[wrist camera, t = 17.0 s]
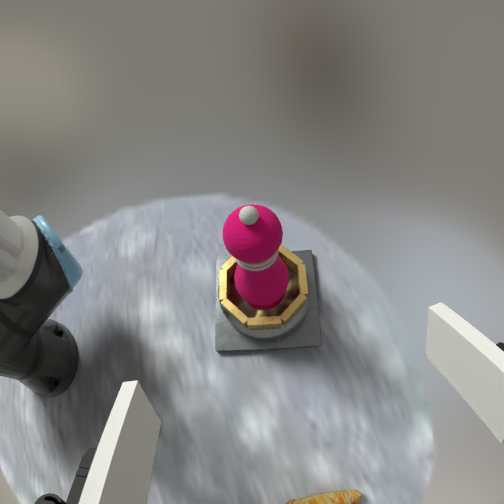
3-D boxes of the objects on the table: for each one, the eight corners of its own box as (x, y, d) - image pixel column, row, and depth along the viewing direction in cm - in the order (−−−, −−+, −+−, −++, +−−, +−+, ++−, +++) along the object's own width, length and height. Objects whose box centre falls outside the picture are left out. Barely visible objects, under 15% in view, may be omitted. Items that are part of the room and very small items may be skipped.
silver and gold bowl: (217, 351, 47) (204, 341, 40) (218, 259, 55) (207, 235, 47) (320, 345, 46) (327, 334, 39) (311, 253, 53) (314, 227, 46)
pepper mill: (240, 268, 48) (211, 182, 30) (288, 266, 47) (286, 177, 29) (238, 314, 44) (204, 247, 27) (289, 312, 44) (290, 243, 26)
